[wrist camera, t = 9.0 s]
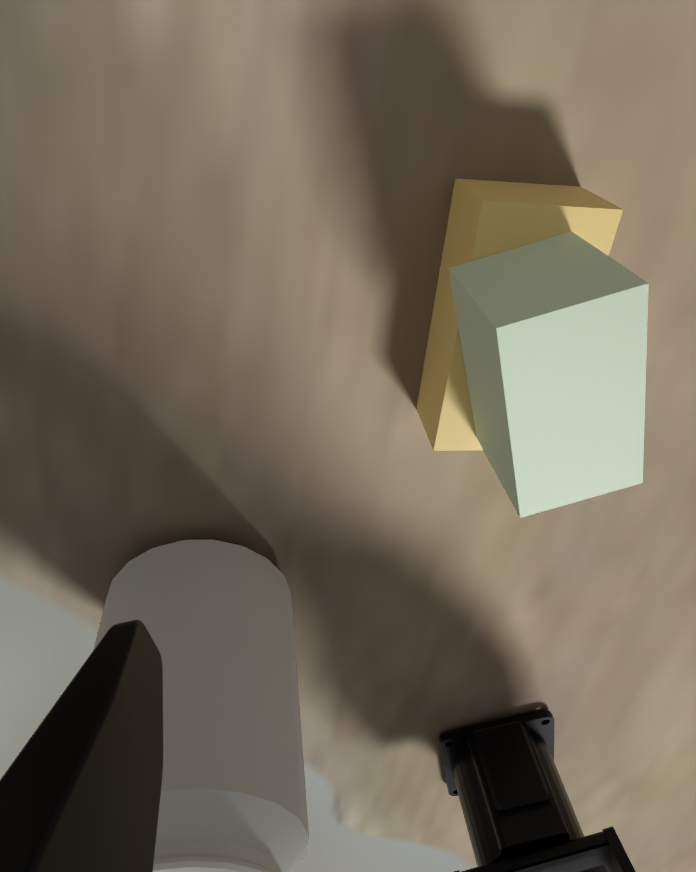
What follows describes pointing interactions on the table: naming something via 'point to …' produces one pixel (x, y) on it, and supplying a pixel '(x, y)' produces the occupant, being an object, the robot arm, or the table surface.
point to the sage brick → (555, 369)
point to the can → (221, 705)
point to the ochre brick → (480, 237)
